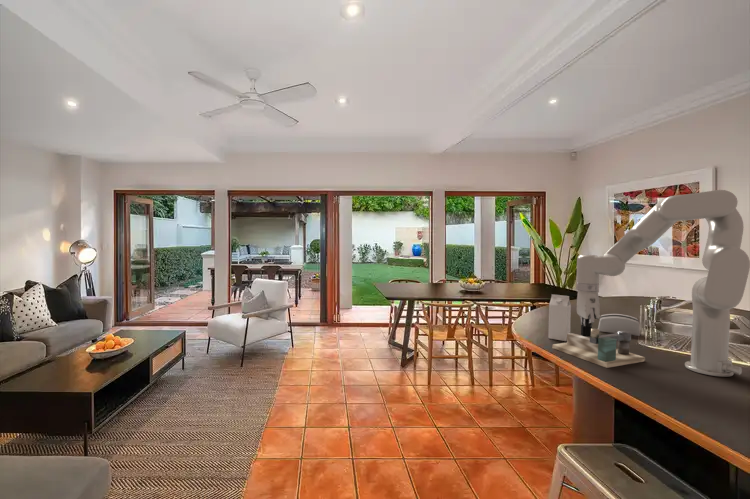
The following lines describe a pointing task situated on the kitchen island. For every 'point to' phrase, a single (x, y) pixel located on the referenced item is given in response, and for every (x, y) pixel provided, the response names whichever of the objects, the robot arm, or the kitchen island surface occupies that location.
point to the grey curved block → (619, 324)
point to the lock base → (595, 356)
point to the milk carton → (559, 317)
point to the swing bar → (618, 336)
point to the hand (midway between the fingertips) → (586, 335)
